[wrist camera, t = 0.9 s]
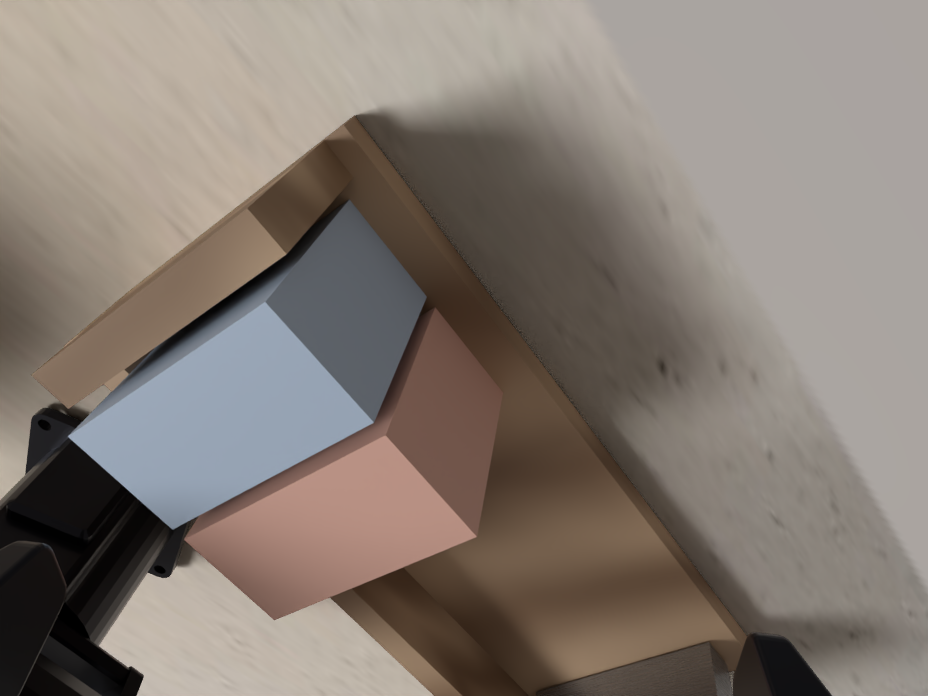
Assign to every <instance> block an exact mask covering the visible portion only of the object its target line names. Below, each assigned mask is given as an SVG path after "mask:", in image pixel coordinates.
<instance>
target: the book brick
mask: <svg viewBox="0 0 928 696" xmlns="http://www.w3.org/2000/svg"><path fill="white" fill-rule="evenodd" d="M502 397H503V392H502V391H501V389H500V388H499V387H498V386H497V384H496V383H495V382H494V381H493V379H492V378H491V377H490V375H489V374H488V373H487V372H486V370H485V369H484V368H483V367H482V365H481V364H480V363H479V362H478V360H477V359H476V358H475V357H474V355H473V354H472V353H471V352H470V350H469V349H468V348H467V347H466V345H465V344H464V343H463V342H462V340H461V339H460V338H459V336H458V335H457V334H456V333H455V331H454V330H453V329H452V328H451V326H450V325H449V324H448V323H447V321H446V320H445V319H444V318H443V316H442V315H441V314H440V313H439V311H438V310H437V309H436V308H433V309H431V310H430V311H428V312H426V313H425V314H423V315H421V316H420V317H418V319H417V322H416V324H415V326H414V329H413V331H412V333H411V336H410V338H409V341H408V343H407V345H406V348H405V350H404V352H403V355H402V357H401V360H400V362H399V364H398V367H397V369H396V371H395V374H394V376H393V379H392V381H391V383H390V386H389V388H388V391H387V393H386V395H385V398H384V400H383V402H382V405H381V407H380V410H379V412H378V414H377V417H376V419H375V421H374V423H372V424H371V425H369V426H367V427H365V428H363V429H361V430H359V431H357V432H355V433H354V434H352V435H350V436H348V437H346V438H344V439H342V440H340V441H339V442H337V443H335V444H333V445H331V446H329V447H327V448H325V449H323V450H322V451H320V452H318V453H316V454H314V455H312V456H310V457H308V458H307V459H305V460H303V461H301V462H299V463H297V464H295V465H293V466H291V467H290V468H288V469H286V470H284V471H282V472H280V473H278V474H276V475H275V476H273V477H271V478H269V479H267V480H265V481H263V482H261V483H260V484H258V485H256V486H254V487H252V488H250V489H248V490H246V491H244V492H243V493H241V494H239V495H237V496H235V497H233V498H231V499H229V500H228V501H226V502H224V503H222V504H220V505H218V506H216V507H214V508H212V509H211V510H209V511H207V512H205V513H203V514H201V515H199V517H198V518H197V520H196V521H195V523H194V524H193V526H192V528H191V529H190V531H189V532H188V534H187V535H186V537H185V538H184V540H185V541H186V542H187V543H188V544H189V545H190V546H192V547H193V548H194V549H195V550H196V551H197V552H198V553H199V554H201V555H202V556H203V557H204V558H205V559H206V560H207V561H208V562H210V563H211V564H212V565H213V566H214V567H215V568H216V569H217V570H219V571H220V572H221V573H222V574H223V575H224V576H225V577H226V578H228V579H229V580H230V581H231V582H232V583H233V584H234V585H235V586H237V587H238V588H239V589H240V590H241V591H242V592H243V593H244V594H246V595H247V596H248V597H249V598H250V599H251V600H252V601H253V602H255V603H256V604H257V605H258V606H259V607H260V608H261V609H262V610H264V611H265V612H266V613H267V614H268V615H269V616H270V617H271V618H273V619H274V620H276V619H278V618H281V617H283V616H286V615H288V614H291V613H293V612H295V611H298V610H300V609H303V608H305V607H308V606H310V605H313V604H315V603H317V602H320V601H322V600H325V599H327V598H330V597H332V596H334V595H337V594H339V593H342V592H344V591H347V590H349V589H351V588H354V587H356V586H359V585H361V584H364V583H366V582H368V581H371V580H373V579H376V578H378V577H381V576H383V575H386V574H388V573H390V572H393V571H395V570H398V569H400V568H403V567H405V566H407V565H410V564H412V563H415V562H417V561H420V560H422V559H424V558H427V557H429V556H432V555H434V554H437V553H439V552H442V551H444V550H446V549H449V548H451V547H454V546H456V545H459V544H461V543H463V542H466V541H468V540H471V539H473V538H476V537H477V534H478V529H479V523H480V518H481V512H482V507H483V501H484V496H485V490H486V485H487V479H488V474H489V468H490V463H491V457H492V452H493V446H494V441H495V435H496V430H497V424H498V419H499V413H500V408H501V402H502Z"/></svg>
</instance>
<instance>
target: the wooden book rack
mask: <svg viewBox="0 0 928 696" xmlns="http://www.w3.org/2000/svg"><path fill="white" fill-rule="evenodd" d="M349 199H350V201H351V202H352V203H353V204H354V206H355V207H356V208H357V209H358V211H359V212H360V213H361V214H362V216H363V217H364V218H365V220H366V221H367V222H368V223H369V225H370V226H371V227H372V228H373V230H374V231H375V232H376V233H377V235H378V236H379V237H380V238H381V240H382V241H383V242H384V243H385V245H386V246H387V247H388V248H389V250H390V251H391V252H392V253H393V255H394V256H395V257H396V259H397V260H398V261H399V262H400V264H401V265H402V266H403V267H404V269H405V270H406V271H407V272H408V274H409V275H410V276H411V277H412V279H413V280H414V281H415V282H416V284H417V285H418V286H419V287H420V289H421V290H422V291H423V292H424V294H425V295H426V296H427V298H426V300H425V302H424V305H423V307H422V310H421V312H420V314H419V317H420V316H421V315H423V314H425V313H426V312H428V311H430V310H431V309H433V308H436V309H437V310H438V311H439V313H440V314H441V315H442V316H443V318H444V319H445V320H446V321H447V323H448V324H449V325H450V326H451V328H452V329H453V330H454V331H455V333H456V334H457V335H458V336H459V338H460V339H461V340H462V342H463V343H464V344H465V345H466V347H467V348H468V349H469V350H470V352H471V353H472V354H473V355H474V357H475V358H476V359H477V360H478V362H479V363H480V364H481V365H482V367H483V368H484V369H485V370H486V372H487V373H488V374H489V375H490V377H491V378H492V379H493V381H494V382H495V383H496V384H497V386H498V387H499V388H500V389H501V391H502V392H503V397H502V402H501V408H500V413H499V419H498V424H497V430H496V435H495V441H494V446H493V452H492V457H491V463H490V468H489V474H488V479H487V485H486V490H485V496H484V501H483V507H482V512H481V518H480V523H479V529H478V534H477V537H476V538H473V539H471V540H468V541H466V542H463V543H461V544H459V545H456V546H454V547H451V548H449V549H446V550H444V551H442V552H439V553H437V554H434V555H432V556H429V557H427V558H424V559H422V560H420V561H417V562H415V563H412V564H410V565H407V566H405V567H403V568H400V569H398V570H395V571H393V572H390V573H388V574H386V575H383V576H381V577H378V578H376V579H373V580H371V581H368V582H366V583H364V584H361V585H359V586H356V587H354V588H351V589H349V590H347V591H344V592H342V593H339V594H337V595H334V596H332V597H330V598H331V599H332V600H333V601H334V602H335V603H336V604H337V605H339V606H340V607H341V608H342V609H343V610H344V611H345V612H346V613H347V614H348V615H349V616H350V617H351V618H352V619H353V620H354V621H355V622H357V623H358V624H359V625H360V626H361V627H362V628H363V629H364V630H365V631H366V632H367V633H368V634H369V635H370V636H371V637H372V638H374V639H375V640H376V641H377V642H378V643H379V644H380V645H381V646H382V647H383V648H384V649H385V650H386V651H387V652H388V653H389V654H390V655H392V656H393V657H394V658H395V659H396V660H397V661H398V662H399V663H400V664H401V665H402V666H403V667H404V668H405V669H406V670H407V671H409V672H410V673H411V674H412V675H413V676H414V677H415V678H416V679H417V680H418V681H419V682H420V683H421V684H422V685H423V686H424V687H426V688H427V689H428V690H429V691H430V692H431V693H432V694H433V695H434V696H536V692H537V691H541V690H544V689H548V688H551V687H555V686H558V685H562V684H565V683H569V682H572V681H575V680H579V679H582V678H586V677H589V676H593V675H596V674H600V673H603V672H607V671H610V670H614V669H617V668H621V667H624V666H628V665H631V664H634V663H638V662H641V661H645V660H648V659H652V658H655V657H659V656H662V655H666V654H669V653H673V652H676V651H680V650H683V649H687V648H690V647H693V646H697V645H700V644H704V643H707V642H709V643H710V644H711V645H712V646H713V648H714V649H715V650H716V652H717V653H718V654H719V655H720V657H721V658H722V659H723V660H724V662H725V663H726V664H727V666H728V671H729V672H731V671H735V670H736V667H737V664H738V661H739V658H740V655H741V652H742V649H743V646H744V643H745V640H746V638H747V636H746V634H745V633H744V632H743V630H742V629H741V628H740V626H739V625H738V624H737V622H736V621H735V620H734V618H733V617H732V616H731V614H730V613H729V612H728V610H727V609H726V608H725V606H724V605H723V604H722V602H721V601H720V600H719V598H718V597H717V596H716V594H715V593H714V592H713V590H712V589H711V588H710V586H709V585H708V584H707V583H706V581H705V580H704V579H703V577H702V576H701V575H700V573H699V572H698V571H697V569H696V568H695V567H694V565H693V564H692V563H691V561H690V560H689V559H688V557H687V556H686V555H685V553H684V552H683V551H682V549H681V548H680V547H679V545H678V544H677V543H676V541H675V540H674V539H673V537H672V536H671V535H670V533H669V532H668V531H667V529H666V528H665V527H664V525H663V524H662V523H661V521H660V520H659V519H658V517H657V516H656V515H655V514H654V512H653V511H652V510H651V508H650V507H649V506H648V504H647V503H646V502H645V500H644V499H643V498H642V496H641V495H640V494H639V492H638V491H637V490H636V488H635V487H634V486H633V484H632V483H631V482H630V480H629V479H628V478H627V476H626V475H625V474H624V472H623V471H622V470H621V468H620V467H619V466H618V464H617V463H616V462H615V460H614V459H613V458H612V456H611V455H610V454H609V452H608V451H607V450H606V448H605V447H604V446H603V445H602V443H601V442H600V441H599V439H598V438H597V437H596V435H595V434H594V433H593V431H592V430H591V429H590V427H589V426H588V425H587V423H586V422H585V421H584V419H583V418H582V417H581V415H580V414H579V413H578V411H577V410H576V409H575V407H574V406H573V405H572V403H571V402H570V401H569V399H568V398H567V397H566V395H565V394H564V393H563V391H562V390H561V389H560V387H559V386H558V385H557V383H556V382H555V381H554V379H553V378H552V377H551V376H550V374H549V373H548V372H547V370H546V369H545V368H544V366H543V365H542V364H541V362H540V361H539V360H538V358H537V357H536V356H535V354H534V353H533V352H532V350H531V349H530V348H529V346H528V345H527V344H526V342H525V341H524V340H523V338H522V337H521V336H520V334H519V333H518V332H517V330H516V329H515V328H514V326H513V325H512V324H511V322H510V321H509V320H508V318H507V317H506V316H505V314H504V313H503V312H502V310H501V309H500V308H499V307H498V305H497V304H496V303H495V301H494V300H493V299H492V297H491V296H490V295H489V293H488V292H487V291H486V289H485V288H484V287H483V285H482V284H481V283H480V281H479V280H478V279H477V277H476V276H475V275H474V273H473V272H472V271H471V269H470V268H469V267H468V265H467V264H466V263H465V261H464V260H463V259H462V257H461V256H460V255H459V253H458V252H457V251H456V249H455V248H454V247H453V245H452V244H451V243H450V241H449V240H448V239H447V238H446V236H445V235H444V234H443V232H442V231H441V230H440V228H439V227H438V226H437V224H436V223H435V222H434V220H433V219H432V218H431V216H430V215H429V214H428V212H427V211H426V210H425V208H424V207H423V206H422V204H421V203H420V202H419V200H418V199H417V198H416V196H415V195H414V194H413V192H412V191H411V190H410V188H409V187H408V186H407V184H406V183H405V182H404V180H403V179H402V178H401V176H400V175H399V174H398V173H397V171H396V170H395V169H394V167H393V166H392V165H391V163H390V162H389V161H388V159H387V158H386V157H385V155H384V154H383V153H382V151H381V150H380V149H379V147H378V146H377V145H376V143H375V142H374V141H373V139H372V138H371V137H370V135H369V134H368V133H367V131H366V130H365V129H364V127H363V126H362V125H361V123H360V122H359V121H358V119H357V118H356V117H355V115H354V116H353V117H352V118H351V119H349V120H348V121H347V122H345V123H344V124H343V125H342V126H340V127H339V128H338V129H336V130H335V131H334V132H333V133H331V134H330V135H329V136H328V137H326V138H325V139H324V140H322V141H321V142H320V143H319V144H317V145H316V146H315V147H313V148H312V149H311V150H310V151H308V152H307V153H306V154H304V155H303V156H302V157H301V158H299V159H298V160H297V161H295V162H294V163H293V164H292V165H290V166H289V167H288V168H286V169H285V170H284V171H283V172H281V173H280V174H279V175H278V176H276V177H275V178H274V179H272V180H271V181H270V182H269V183H267V184H266V185H265V186H263V187H262V188H261V189H260V190H258V191H257V192H256V193H254V194H253V195H252V196H251V197H249V198H248V199H247V200H245V201H244V202H243V203H242V204H240V205H239V206H238V207H236V208H235V209H234V210H233V211H231V212H230V213H229V214H227V215H226V216H225V217H224V218H222V219H221V220H220V221H219V222H217V223H216V224H215V225H213V226H212V227H211V228H210V229H208V230H207V231H206V232H204V233H203V234H202V235H201V236H199V237H198V238H197V239H195V240H194V241H193V242H192V243H190V244H189V245H188V246H186V247H185V248H184V249H183V250H181V251H180V252H179V253H177V254H176V255H175V256H174V257H172V258H171V259H170V260H169V261H167V262H166V263H165V264H163V265H162V266H161V267H160V268H158V269H157V270H156V271H154V272H153V273H152V274H151V275H149V276H148V277H147V278H145V279H144V280H143V281H142V282H140V283H139V284H138V285H136V286H135V287H134V288H133V289H131V290H130V291H129V292H128V293H126V294H125V295H124V296H123V297H122V298H120V299H119V300H118V301H117V302H116V303H114V304H113V305H112V306H111V307H110V308H109V309H107V310H106V311H105V312H104V313H103V314H101V315H100V316H99V317H98V318H97V319H95V320H94V321H93V322H92V323H91V324H89V325H88V326H87V327H86V328H85V329H83V330H82V331H81V332H80V333H79V334H77V335H76V336H75V337H74V338H73V339H71V340H70V341H69V342H68V343H67V344H65V345H64V348H63V349H62V350H60V351H59V352H58V353H57V354H56V355H54V356H53V357H52V358H51V359H50V360H48V361H47V362H46V363H45V364H44V365H42V366H41V367H40V368H39V369H38V370H37V371H35V372H34V373H33V374H32V375H31V376H32V377H34V378H35V379H36V380H37V381H38V382H39V383H40V384H41V385H42V386H44V387H45V388H46V389H47V390H48V391H49V392H50V393H51V394H52V395H53V396H55V397H56V398H57V399H58V400H59V401H60V402H61V403H62V404H63V405H64V406H66V407H67V408H68V409H69V408H71V407H72V406H73V405H75V404H76V403H78V402H79V401H80V400H82V399H83V398H85V397H86V396H87V395H89V394H90V393H92V392H93V391H95V390H96V389H97V388H99V387H100V386H102V385H103V384H104V385H105V386H106V387H107V388H108V389H109V390H110V391H111V392H112V391H113V390H114V389H115V388H116V387H117V386H118V385H119V384H120V383H121V382H122V381H123V380H124V379H125V378H126V377H127V376H128V375H129V374H130V373H131V372H132V371H133V370H134V369H135V368H136V367H137V366H138V365H139V364H140V363H141V362H142V361H143V360H144V359H145V358H146V357H147V356H148V355H149V353H150V352H151V351H152V350H153V349H154V348H155V347H157V346H158V345H159V344H161V343H162V342H164V341H165V340H166V339H168V338H169V337H171V336H172V335H174V334H175V333H176V332H178V331H179V330H181V329H182V328H183V327H185V326H186V325H188V324H189V323H190V322H192V321H193V320H195V319H196V318H197V317H199V316H200V315H202V314H203V313H205V312H206V311H207V310H209V309H210V308H212V307H213V306H214V305H216V304H217V303H219V302H220V301H221V300H223V299H224V298H226V297H227V296H229V295H230V294H231V293H233V292H234V291H236V290H237V289H238V288H240V287H241V286H243V285H244V284H245V283H247V282H248V281H250V280H251V279H253V278H254V277H255V276H257V275H258V274H260V273H261V272H262V271H264V270H265V269H267V268H268V267H269V266H271V265H272V264H274V263H275V262H276V261H278V260H279V259H281V258H282V257H284V256H285V255H286V254H287V253H288V252H289V251H290V250H291V249H292V248H293V246H294V245H295V244H296V243H297V242H298V241H299V240H300V238H301V237H302V236H303V235H304V234H305V233H306V232H307V230H308V229H309V228H310V227H312V226H313V225H314V224H316V223H317V222H319V221H320V220H321V219H323V218H324V217H326V216H327V215H328V214H330V213H331V212H333V211H334V210H335V209H337V208H338V207H339V206H341V205H342V204H344V203H345V202H346V201H348V200H349Z"/></svg>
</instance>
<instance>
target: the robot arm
mask: <svg viewBox="0 0 928 696" xmlns="http://www.w3.org/2000/svg"><path fill="white" fill-rule="evenodd" d="M81 423H82V421H80V420H77V419H75V418H72V417H70V416H68V415H65V414H63V413H61V412H58V411H56V410H54V409H50V408H42V409H41V410H39V411H38V412H37V413H36V414H35V415H34V416H33V417H32V420H31V429H30V438H29V447H28V455H27V464H26V473H25V476H24V477H23V478H22V479H21V480H20V481H19V482H18V483H17V484H16V485H15V486H14V487H13V488H12V489H11V490H10V491H9V492H8V493H7V494H6V495H5V496H4V497H3V498H2V499H1V500H0V696H136V695H137V693H138V690H139V688H140V685H141V683H142V680H143V677H144V675H143V674H141V673H140V672H139V671H137V670H136V669H135V668H133V667H132V666H131V667H127V666H125V665H124V664H122V663H121V662H120V661H118V660H117V659H116V658H114V657H113V656H111V655H110V654H109V653H107V652H106V651H105V650H103V649H102V648H100V647H99V645H100V643H101V642H102V640H103V639H104V637H105V636H106V634H107V633H108V631H109V630H110V628H111V627H112V625H113V624H114V622H115V621H116V619H117V618H118V616H119V615H120V613H121V612H122V610H123V609H124V607H125V606H126V604H127V603H128V601H129V600H130V598H131V597H132V595H133V594H134V592H135V591H136V589H137V588H138V586H139V585H140V583H141V582H142V580H143V579H144V577H145V576H146V574H147V573H150V574H153V575H155V576H158V577H161V578H167V577H169V576H170V575H171V574H172V572H173V570H174V569H175V567H176V565H177V561H178V558H179V555H180V552H181V549H182V546H183V542H184V538H185V536H186V533H187V530H188V527H189V524H190V521H188V522H186V523H184V524H182V525H180V526H179V527H177V528H175V529H173V530H172V529H171V528H170V527H169V526H168V525H167V524H166V523H164V522H163V521H162V520H161V519H160V518H159V517H158V516H157V515H155V514H154V513H153V512H152V511H151V510H150V509H149V508H148V507H146V506H145V505H144V504H143V503H142V502H141V501H140V500H139V499H137V498H136V497H135V496H134V495H133V494H132V493H131V492H130V491H128V490H127V489H126V488H125V487H124V486H123V485H122V484H121V483H119V482H118V481H117V480H116V479H115V478H114V477H113V476H112V475H110V474H109V473H108V472H107V471H106V470H105V469H104V468H103V467H101V466H100V465H99V464H98V463H97V462H96V461H95V460H94V459H92V458H91V457H90V456H89V455H88V454H87V453H86V452H85V451H83V450H82V449H81V448H80V447H79V446H78V445H77V444H76V443H74V442H73V441H72V440H71V439H70V438H69V437H68V436H69V435H70V434H71V433H72V432H73V431H74V430H75V429H76V428H77V427H78V426H79V425H80V424H81ZM733 696H832V695H831V694H830V692H829V691H828V690H827V689H826V687H825V686H824V685H823V683H822V682H821V681H820V680H819V678H818V677H817V676H816V674H815V673H814V672H813V670H812V669H811V668H810V667H809V665H808V664H807V663H806V661H805V660H804V659H803V658H802V656H801V655H800V654H799V652H798V651H797V650H796V648H795V647H794V646H793V645H792V643H791V642H790V641H789V640H788V639H786V638H785V637H783V636H780V635H774V634H766V633H758V632H753V633H750V634H749V635H748V636H747V638H746V640H745V643H744V646H743V649H742V652H741V655H740V658H739V661H738V664H737V667H736V670H735V673H734V678H733Z"/></svg>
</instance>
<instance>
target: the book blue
mask: <svg viewBox="0 0 928 696" xmlns="http://www.w3.org/2000/svg"><path fill="white" fill-rule="evenodd" d="M426 298H427V296H426V295H425V294H424V292H423V291H422V290H421V289H420V287H419V286H418V285H417V284H416V282H415V281H414V280H413V279H412V277H411V276H410V275H409V274H408V272H407V271H406V270H405V269H404V267H403V266H402V265H401V264H400V262H399V261H398V260H397V259H396V257H395V256H394V255H393V253H392V252H391V251H390V250H389V248H388V247H387V246H386V245H385V243H384V242H383V241H382V240H381V238H380V237H379V236H378V235H377V233H376V232H375V231H374V230H373V228H372V227H371V226H370V225H369V223H368V222H367V221H366V220H365V218H364V217H363V216H362V214H361V213H360V212H359V211H358V209H357V208H356V207H355V206H354V204H353V203H352V202H351V201H350V199H349V200H348V201H346V202H345V203H344V204H342V205H341V206H339V207H338V208H337V209H335V210H334V211H333V212H331V213H330V214H328V215H327V216H326V217H324V218H323V219H321V220H320V221H319V222H317V223H316V224H314V225H313V226H312V227H310V228H309V229H308V230H307V232H306V233H305V234H304V235H303V236H302V237H301V238H300V240H299V241H298V242H297V243H296V244H295V245H294V246H293V248H292V249H291V250H290V251H289V252H288V253H287V254H286V255H285V256H284V257H282V258H281V259H279V260H278V261H276V262H275V263H274V264H272V265H271V266H269V267H268V268H267V269H265V270H264V271H262V272H261V273H260V274H258V275H257V276H255V277H254V278H253V279H251V280H250V281H248V282H247V283H245V284H244V285H243V286H241V287H240V288H238V289H237V290H236V291H234V292H233V293H231V294H230V295H229V296H227V297H226V298H224V299H223V300H221V301H220V302H219V303H217V304H216V305H214V306H213V307H212V308H210V309H209V310H207V311H206V312H205V313H203V314H202V315H200V316H199V317H197V318H196V319H195V320H193V321H192V322H190V323H189V324H188V325H186V326H185V327H183V328H182V329H181V330H179V331H178V332H176V333H175V334H174V335H172V336H171V337H169V338H168V339H166V340H165V341H164V342H162V343H161V344H159V345H158V346H157V347H155V348H154V349H153V350H152V351H151V352H150V353H149V355H148V356H147V357H146V358H145V359H144V360H143V361H142V362H141V363H140V364H139V365H138V366H137V367H136V368H135V369H134V370H133V371H132V372H131V373H130V374H129V375H128V376H127V377H126V378H125V379H124V380H123V381H122V382H121V383H120V384H119V385H118V386H117V387H116V388H115V389H114V390H113V391H112V392H111V393H110V394H109V395H108V396H107V397H106V398H105V399H104V400H103V401H102V402H101V403H100V404H99V405H98V406H97V407H96V408H95V409H94V410H93V411H92V412H91V413H90V414H89V415H88V416H87V417H86V419H85V420H84V421H83V422H82V423H81V424H80V425H79V426H78V427H77V428H76V429H75V430H74V431H73V432H72V433H71V434H70V435H69V436H68V437H69V438H70V439H71V440H72V441H73V442H74V443H76V444H77V445H78V446H79V447H80V448H81V449H82V450H83V451H85V452H86V453H87V454H88V455H89V456H90V457H91V458H92V459H94V460H95V461H96V462H97V463H98V464H99V465H100V466H101V467H103V468H104V469H105V470H106V471H107V472H108V473H109V474H110V475H112V476H113V477H114V478H115V479H116V480H117V481H118V482H119V483H121V484H122V485H123V486H124V487H125V488H126V489H127V490H128V491H130V492H131V493H132V494H133V495H134V496H135V497H136V498H137V499H139V500H140V501H141V502H142V503H143V504H144V505H145V506H146V507H148V508H149V509H150V510H151V511H152V512H153V513H154V514H155V515H157V516H158V517H159V518H160V519H161V520H162V521H163V522H164V523H166V524H167V525H168V526H169V527H170V528H171V529H172V530H173V529H175V528H177V527H179V526H180V525H182V524H184V523H186V522H188V521H190V520H192V519H194V518H196V517H197V516H199V515H201V514H203V513H205V512H207V511H209V510H211V509H212V508H214V507H216V506H218V505H220V504H222V503H224V502H226V501H228V500H229V499H231V498H233V497H235V496H237V495H239V494H241V493H243V492H244V491H246V490H248V489H250V488H252V487H254V486H256V485H258V484H260V483H261V482H263V481H265V480H267V479H269V478H271V477H273V476H275V475H276V474H278V473H280V472H282V471H284V470H286V469H288V468H290V467H291V466H293V465H295V464H297V463H299V462H301V461H303V460H305V459H307V458H308V457H310V456H312V455H314V454H316V453H318V452H320V451H322V450H323V449H325V448H327V447H329V446H331V445H333V444H335V443H337V442H339V441H340V440H342V439H344V438H346V437H348V436H350V435H352V434H354V433H355V432H357V431H359V430H361V429H363V428H365V427H367V426H369V425H371V424H372V423H374V421H375V419H376V417H377V414H378V412H379V410H380V407H381V405H382V402H383V400H384V398H385V395H386V393H387V391H388V388H389V386H390V383H391V381H392V379H393V376H394V374H395V371H396V369H397V367H398V364H399V362H400V360H401V357H402V355H403V352H404V350H405V348H406V345H407V343H408V341H409V338H410V336H411V333H412V331H413V329H414V326H415V324H416V322H417V319H418V317H419V314H420V312H421V310H422V307H423V305H424V302H425V300H426Z"/></svg>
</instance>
